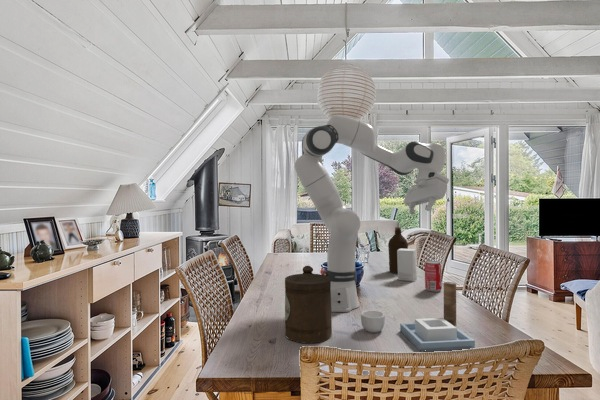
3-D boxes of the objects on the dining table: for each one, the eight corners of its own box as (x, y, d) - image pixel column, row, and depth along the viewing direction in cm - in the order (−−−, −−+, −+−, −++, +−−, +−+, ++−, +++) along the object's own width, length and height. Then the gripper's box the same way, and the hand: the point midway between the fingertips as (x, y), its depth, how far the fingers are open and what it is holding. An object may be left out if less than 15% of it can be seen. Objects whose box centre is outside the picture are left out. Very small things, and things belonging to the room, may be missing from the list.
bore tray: (421, 352, 106) (421, 334, 106) (400, 331, 122) (400, 315, 122) (474, 349, 108) (474, 331, 108) (447, 328, 124) (447, 313, 124)
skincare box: (417, 279, 192) (417, 249, 192) (413, 282, 187) (413, 250, 186) (400, 277, 197) (400, 247, 196) (396, 280, 191) (396, 249, 191)
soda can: (442, 292, 167) (442, 263, 167) (425, 291, 168) (425, 263, 168) (440, 288, 174) (440, 260, 174) (424, 287, 175) (423, 260, 175)
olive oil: (411, 271, 210) (410, 227, 210) (403, 275, 202) (403, 228, 202) (393, 269, 217) (393, 226, 216) (385, 272, 209) (384, 227, 208)
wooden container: (296, 324, 130) (295, 260, 129) (337, 329, 124) (336, 263, 123) (277, 339, 116) (276, 269, 115) (322, 347, 110) (322, 272, 110)
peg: (447, 326, 126) (447, 285, 125) (441, 322, 130) (441, 282, 129) (458, 325, 126) (458, 284, 126) (452, 321, 130) (452, 281, 130)
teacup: (382, 336, 118) (382, 319, 118) (358, 332, 121) (358, 316, 121) (388, 325, 127) (388, 309, 127) (365, 322, 130) (365, 307, 130)
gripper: (404, 183, 158) (396, 212, 154) (439, 171, 140) (431, 204, 135) (416, 189, 160) (408, 219, 156) (452, 178, 142) (444, 211, 137)
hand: (419, 212), depth 145 cm, fingers open, 8 cm apart
